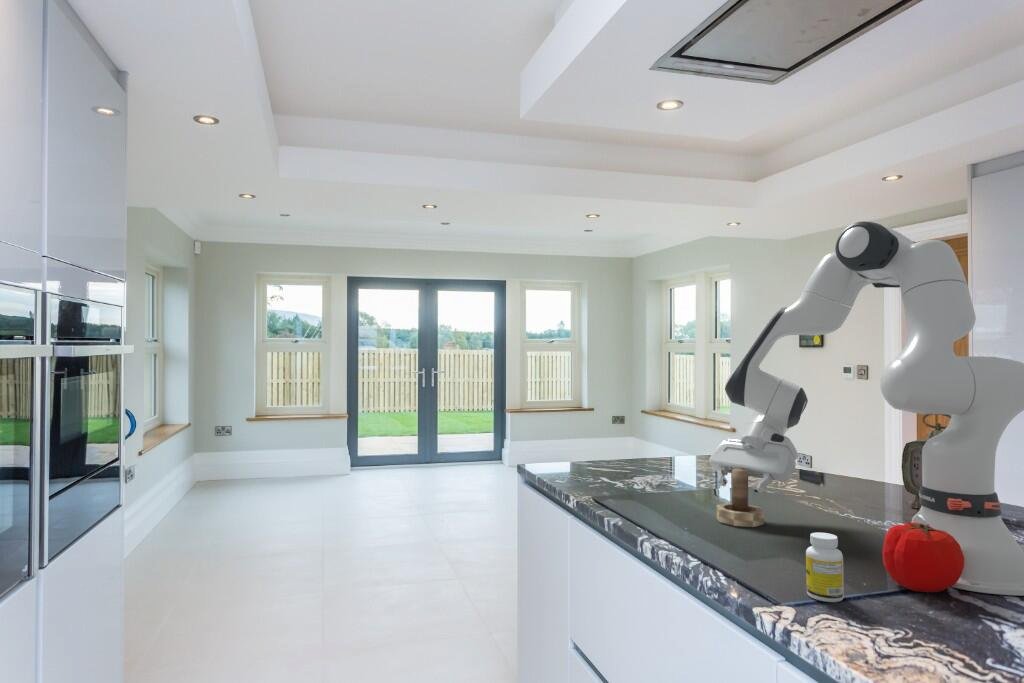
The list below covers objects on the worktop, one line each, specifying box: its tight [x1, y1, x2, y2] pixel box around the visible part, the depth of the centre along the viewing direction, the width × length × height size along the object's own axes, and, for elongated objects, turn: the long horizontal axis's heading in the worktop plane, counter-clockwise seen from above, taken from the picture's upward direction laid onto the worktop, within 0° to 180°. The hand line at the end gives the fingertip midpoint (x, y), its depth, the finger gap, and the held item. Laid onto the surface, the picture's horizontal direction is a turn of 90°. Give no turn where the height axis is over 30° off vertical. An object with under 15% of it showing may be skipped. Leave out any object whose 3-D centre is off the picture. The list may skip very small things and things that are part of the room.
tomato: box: [881, 517, 964, 593], centre depth 105 cm, size 12×12×11 cm
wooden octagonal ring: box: [716, 502, 765, 528], centre depth 149 cm, size 10×10×3 cm
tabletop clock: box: [901, 414, 951, 508], centre depth 161 cm, size 14×9×25 cm, turn 42°
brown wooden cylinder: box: [731, 469, 749, 512], centre depth 149 cm, size 4×4×12 cm
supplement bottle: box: [805, 532, 845, 603], centre depth 102 cm, size 5×5×10 cm
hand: (738, 487), depth 149 cm, fingers open, 8 cm apart
